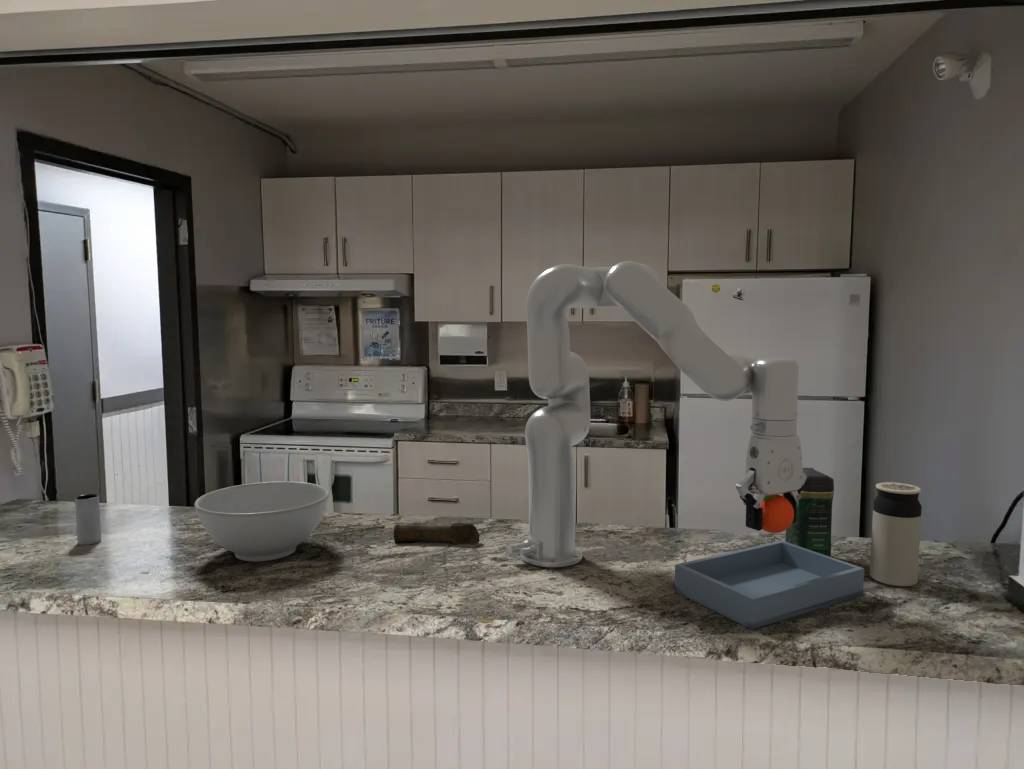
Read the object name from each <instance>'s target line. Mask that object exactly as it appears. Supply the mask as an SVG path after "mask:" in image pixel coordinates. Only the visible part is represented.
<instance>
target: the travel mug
mask: <svg viewBox="0 0 1024 769" xmlns="http://www.w3.org/2000/svg"><path fill="white" fill-rule="evenodd" d="M875 488H876V489H877V490H876V491H877V495H876V497H875V498H874V499H873V505H872V506H873V507H872V520H871V521H872V522H871V523H872V527H871V542H870V543H871V544H870V545H871V547H870V565H869V576H870V577H871V578H872V579H874V580H875V581H876V582H878V583H881V584H883V585H888V586H891V587H903V588H904V587H911V586H914V585H917V583H918V579H919V564H920V562H919V561H920V547H921V546H920V544H921V530H922V529H921V526H922V525H921V524H922V504H921V502H920V500H919V497H920V496H919V495H920V493H921V492H922V488H920V487H919V486H917V485H914V484H908V483H902V482H895V481H894V482H893V481H888V482H887V481H886V482H883V481H882V482H879V483H878V482H877V483H876V484H875Z"/></svg>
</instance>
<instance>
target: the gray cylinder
mask: <svg viewBox="0 0 1024 769" xmlns="http://www.w3.org/2000/svg"><path fill="white" fill-rule="evenodd" d="M74 504H75V505H74V506H75V518H76V519H75V520H76V523H75V524H76V535H77V536H76V537H77V544H78V545H81V546H86V545H95V544H97V543H101V541H102V529H101V528H102V525H101V510H100V495H99V494H97V493H90V494H89V493H87V494H80V495H77V496H76V497H75V498H74Z"/></svg>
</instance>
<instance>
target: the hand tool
mask: <svg viewBox="0 0 1024 769" xmlns="http://www.w3.org/2000/svg"><path fill="white" fill-rule="evenodd" d="M393 541H394V543H398V542H400V543H403V542H415V541H416V542H449V543H451V544H452V545H469V544H470V543H471V544H478V543H479V542H480V533H479V531H478V529H477V527H476V526H475V524H473V523H470V522H455V523H454V522H452V524H451V525H450V526H448V525H447V526H445V525H444V526H443V525H442V526H436V525H434V526H431V525H430V526H429V525H428V526H423V525H422V526H421V525H400V524H398V523H397V524H395V525H394V527H393ZM471 544H470V545H471Z"/></svg>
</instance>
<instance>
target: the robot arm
mask: <svg viewBox="0 0 1024 769" xmlns="http://www.w3.org/2000/svg"><path fill="white" fill-rule="evenodd" d="M607 308H610V309H611V308H619V309H621V310H622V311H623V313H625V314H626V315H627V316H628V317H629V318H630V319H632V321H634V322H635V323H636V324H637V325H638V326H639V327H640V328H642V329H643V330H644V331H645V333H647V334H648V335H649V336H650V337H651V338H652V339H653V340H654V341H655V342H656V343H657V344H658V345H659V347H660V348H661V349H662V351H664V353H665V354H666V355H667V357H669V359H670V360H671V361H672V363H673V364H675V366H676V367H677V368H678V369H679V370H680V371H681V372H682V373H683V374H685V376H686V377H687V378H688V379H689V380H691V381H692V383H694V384H695V385H696V386H697V387H698V388H699V389H701V390H702V391H703V392H704V393H705V394H707V395H708V396H709V397H711V398H713V399H715V400H717V401H722V402H723V401H724V402H728V401H729V402H730V401H732V400H735V399H738V398H739V397H741V396H746V395H747V396H749V395H750V396H751V399H752V400H751V424H750V432H751V434H750V436H749V440H748V445H747V451H746V459H745V468H744V469H745V472H744V476H743V477H742V478H741V479H740V480H739V482H738V483H736V485H735V489H736V490H737V493H738V494H739V498H740V500H742V503H743V505H744V506H745V526H746V527H747V528H749V529H751V530H755V531H758V532H759V531H762V530H763V529H762V516H763V509H762V508H760V505H761V503H762V501H763V499H764V497H765V495H768V496H771V495H777V494H778V495H781V496H783V497H784V498H786V499H787V500H788V501H789V502H790V504H791V505H792V507H793V510H794V519H793V522H792V523H796V513H797V501H798V500H799V498H800V496H799V494H800V492H801V491H802V489H803V486H802V485H804V482H805V480H806V478H807V475H806V474H805V473H803V469H802V468H803V453H802V445H801V440H800V435H798V434H797V432H798V408H799V406H798V404H799V400H798V399H799V379H800V378H799V377H800V374H799V373H800V369H799V363H798V362H797V361H796V360H795V359H794V358H793V359H792V358H787V357H786V358H785V357H764V358H763V357H761V358H754V357H748V356H741V355H729V354H728V353H726V352H725V350H723V349H722V348H721V347H720V346H719V345H718V344H717V343H716V342H714V341H713V340H712V339H711V338H710V337H709V336H708V334H706V333H705V332H704V330H703V329H702V328H701V327H700V326H699V323H698V322H697V320H696V318H695V316H694V313H693V311H692V310H691V308H690V307H689V306H688V305H687V304H685V303H684V302H683V301H682V300H681V299H680V298H679V297H678V296H677V295H675V294H674V293H673V292H672V291H670V290H669V288H667V287H666V286H665V285H664V284H663V283H662V282H660V278H659V276H658V274H657V272H656V271H655V270H654V269H653V268H652V267H650V266H649V265H647V264H645V263H641V262H638V261H633V260H625V261H621V262H619V263H616V264H614V266H597V267H596V266H595V267H594V266H592V267H591V266H590V267H587V266H582V265H578V264H577V265H576V264H570V263H568V264H567V263H564V264H557V265H555V266H554V265H553V266H552V267H549V268H548V269H546V270H544V271H542V273H540V274H539V275H538V276H537V277H536V278H535V279H534V281H533V282H532V284H531V285H530V288H529V290H528V293H527V295H526V302H525V314H526V317H525V318H526V329H527V330H526V331H527V359H528V360H527V362H528V365H527V367H528V368H527V369H528V382H529V386H530V389H531V391H532V393H533V394H534V395H535V396H537V397H538V398H541V399H543V400H547V402H548V405H546V406H543V407H541V408H539V409H537V410H536V411H534V412H533V413H532V414H531V415H530V416H529V418H528V420H527V422H526V425H525V428H524V440H525V448H526V452H527V462H528V535H525V536H523V537H524V538H523V540H521V541H520V542H519V543H510V544H508V545H507V553H508V554H509V555H513V554H518V553H519V555H520V557H521V558H522V560H523V562H525V563H527V564H530V565H533V566H536V567H542V568H566V567H570V566H573V565H576V564H578V563H579V562H581V561H582V560H583V552H582V550H581V549H580V548H579V547H576V546H575V545H576V544H575V543H576V540H575V539H576V538H575V537H576V536H575V535H576V534H575V533H576V469H575V468H576V467H575V466H576V465H575V462H574V455H573V454H574V453H573V448H572V447H574V446H575V445H577V444H579V443H581V442H582V441H583V440H584V439H585V438H586V437H587V435H588V433H589V432H590V428H591V418H592V417H591V397H590V396H591V395H590V394H591V392H590V388H591V387H590V374H589V369H588V367H587V364H586V363H585V361H584V359H583V358H582V357H581V356H580V355H579V354H577V353H576V352H573V351H571V342H570V337H571V336H570V327H569V323H568V319H567V310H570V309H607ZM755 495H756V497H754V496H755Z"/></svg>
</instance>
